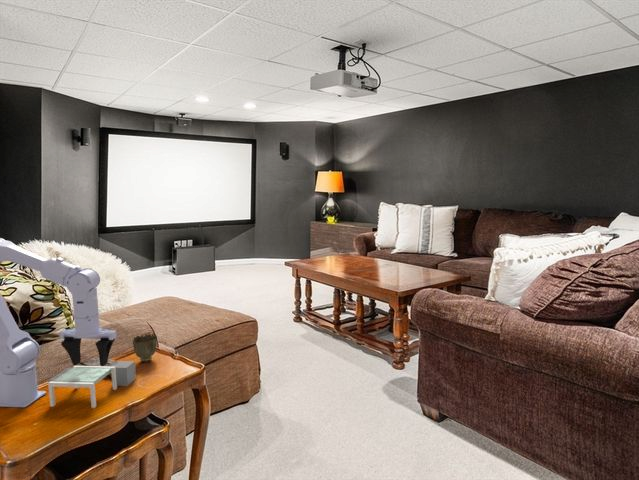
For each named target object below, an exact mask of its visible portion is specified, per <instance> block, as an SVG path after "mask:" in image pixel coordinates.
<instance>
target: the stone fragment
mask: <svg viewBox="0 0 639 480" xmlns="http://www.w3.org/2000/svg"><path fill="white" fill-rule="evenodd" d="M118 362H119V361H116V360H115V359H112V358H109V357H108V362H107V364H106V365H104V366H110V367H112V366H114V365H115V364H116V363H118ZM80 363H82V364H83V365H86V366H101V365H100V359H99V355H97V356H96V357H95V358H92V359H89V360H88V359H87V360H82V361H80ZM135 373H137V371H135ZM108 375H109V377H111V378H112V373H109V374H108Z"/></svg>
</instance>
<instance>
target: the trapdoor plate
mask: <svg viewBox="0 0 639 480" xmlns="http://www.w3.org/2000/svg"><path fill="white" fill-rule="evenodd" d="M109 373H111V369H109V368H75V367H73V366H72V367H67V368H65V369H64V370H63V371H61V372H59V373H57V374H56V375H54V376H52V377H51V378H50V379H48V380H47V382H48V383H49V382H50V381H54V382H90V383H95V385H96V384H97V383H99V382H100V381H102V380H103V379H104V378H106V377H107V376H108V375H109ZM48 383H47V384H48Z"/></svg>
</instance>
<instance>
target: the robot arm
mask: <svg viewBox="0 0 639 480" xmlns="http://www.w3.org/2000/svg"><path fill="white" fill-rule="evenodd" d="M64 260H65V259H64V258H63V257H57V258H56V257H52V258H49V259H47V258H44V257H42V256H40V255H38V254H35V252H31V251H29V250H28V249H25V248H22V247H20V246H19V245H16V244H15V243H13V242H12V241H11V240H5V239H4V238H2V237H0V265H1V264H2V263H3V262H11V263H14V264H17V265H19V266H22V267H25V268H28V269H32V270H35V271H38V272H40V275H41V277H42V278H43V279H46V280H47V281H50V282H53V283H54V284H55V283H56V284H58V285H61V286H63V287H65V288H66V289H67V290H68V292H70V295H71V297H72V305H73V307H72V309H73V320H74V329H62V330H61V331H60V332H59V338H60V340H63V341H62V342H60V343H61V344H60V345H61V346H62V347H63V348H64V350H66V352H67V354H68V356H69V358H70V360H71V363H72V366H78V365H79V364H80V363H81V362H82V361H81V359H82V357H81V343H82V339H85V340H86V339H87V340H88V339H90V340H91V339H92V340H93V339H95V340H97V339H98V341H96V342H95V347H96V349H97V352H98V356H99V359H100V365H101V366H104V365H106V364H107V362H108V358H109V357H110V356H109V355H110V351H111V348H112V346H113V344H114V342H115V339H116V338H117V330H110V329H105V328H101V326H100V314H99V313H100V312H99V301H98V289H97V287H99V284H100V282H101V276H100V274H99V273H98V272H97V271H96V270H94V269H93V268H91V267H88V268H87V267H86V268H82V266H81V265H74V264H71V263H68V262H66V261H64ZM40 353H41V347H40V344H39V343H38V342H37V341H36V340H35V339H34V338H32V336H31V335H30V333H29V332H27V331H25V330H22V329H20V328H19V326H18V324H17V322H16V321H15V318H14V317H13V315H12V313H11V311H10V309H9V307H8V306H7V303H6V302H5V300H4V297H3V296H2V294H1V293H0V406H1V407H5V408H6V407H7V408H26V407H28V406H30V405H31V404H32V403H33V402H35V401H37V400H38V399H40V398H41V397H42V396H44V395H45V394H47V391H45V390H41V391H40V390H39V389H38V388H39V387H38V379H37V378H38V377H37V367H36V366H37V365H36V363H37V357H39V355H40Z"/></svg>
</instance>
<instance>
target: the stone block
mask: <svg viewBox="0 0 639 480" xmlns="http://www.w3.org/2000/svg"><path fill="white" fill-rule="evenodd" d="M117 362H118V363H116V364H115V365H114V366H112V367H116V381H117V387H118V386H119V387H128V386H130V385H131V384H132V383H134V381H136V379H137V377H136V376H137V374H136V373H137V372H136V362H135V360H119V361H117ZM135 372H136V373H135Z"/></svg>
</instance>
